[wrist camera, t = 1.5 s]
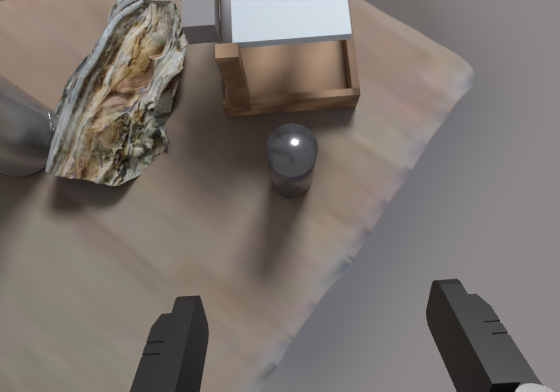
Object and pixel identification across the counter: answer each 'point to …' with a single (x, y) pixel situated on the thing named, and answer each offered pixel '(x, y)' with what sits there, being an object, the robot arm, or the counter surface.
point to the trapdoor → (265, 21)
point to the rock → (120, 96)
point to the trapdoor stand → (288, 77)
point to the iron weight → (291, 158)
